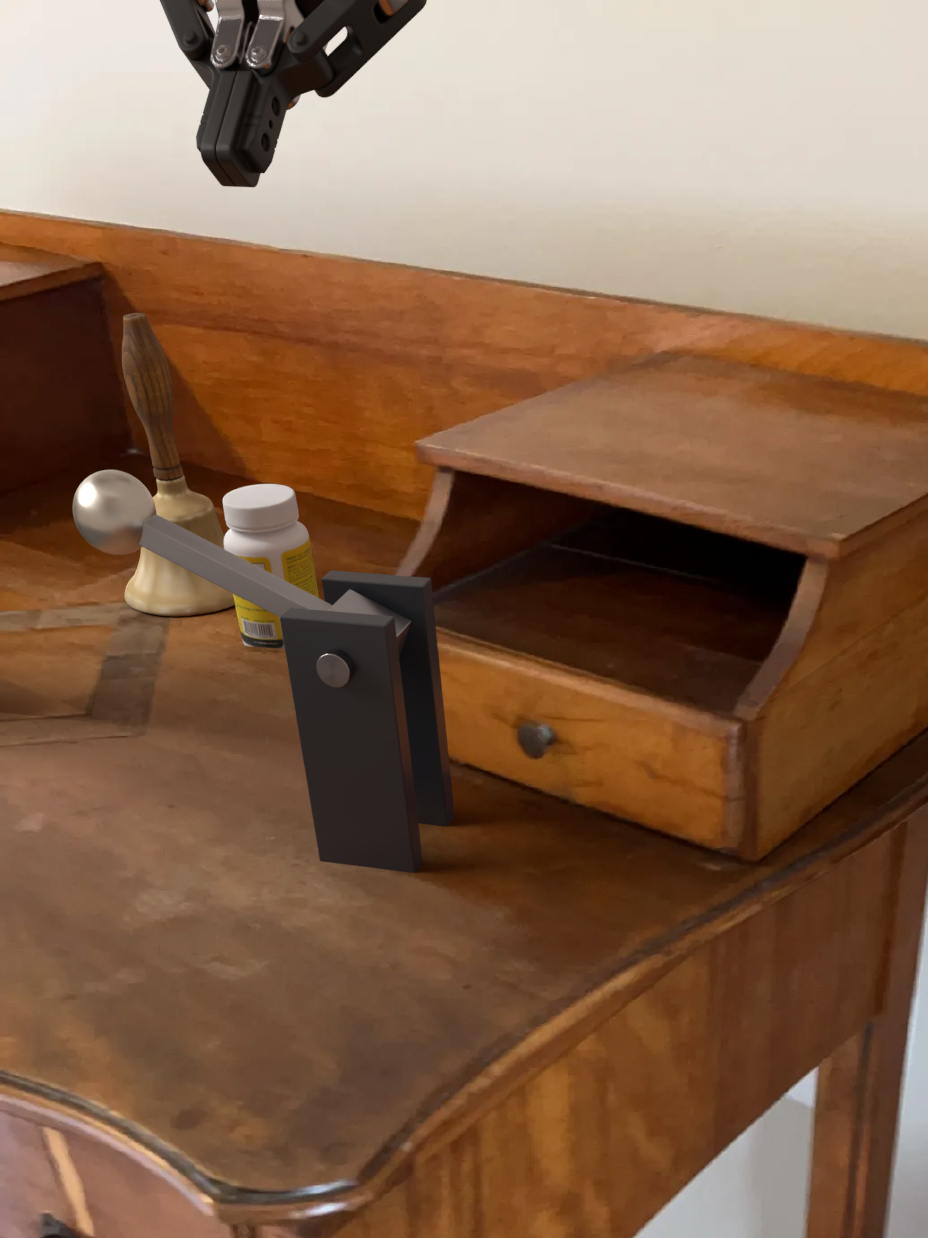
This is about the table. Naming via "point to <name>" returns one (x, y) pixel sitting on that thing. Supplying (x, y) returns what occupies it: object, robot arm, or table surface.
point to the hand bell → (166, 486)
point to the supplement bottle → (267, 552)
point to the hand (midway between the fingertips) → (227, 173)
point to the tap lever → (193, 549)
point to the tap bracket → (370, 721)
